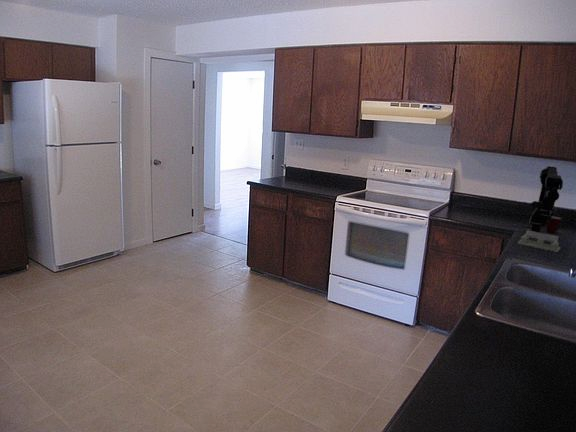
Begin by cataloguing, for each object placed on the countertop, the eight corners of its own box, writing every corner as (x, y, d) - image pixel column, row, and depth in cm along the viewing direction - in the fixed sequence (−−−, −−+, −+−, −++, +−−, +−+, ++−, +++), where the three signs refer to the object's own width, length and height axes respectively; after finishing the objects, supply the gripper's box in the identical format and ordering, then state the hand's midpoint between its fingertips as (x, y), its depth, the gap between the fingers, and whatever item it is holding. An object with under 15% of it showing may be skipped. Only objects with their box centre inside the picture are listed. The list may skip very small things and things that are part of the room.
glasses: (526, 234, 269) (528, 229, 268) (557, 241, 260) (559, 236, 259) (523, 237, 262) (524, 232, 262) (555, 244, 253) (556, 239, 252)
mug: (541, 229, 306) (544, 214, 304) (554, 231, 304) (558, 216, 302) (546, 233, 296) (549, 217, 294) (559, 235, 294) (563, 219, 292)
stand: (522, 240, 272) (523, 233, 271) (560, 248, 260) (562, 242, 259) (517, 243, 264) (519, 236, 263) (557, 252, 252) (558, 245, 251)
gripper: (537, 193, 270) (531, 219, 274) (530, 197, 255) (524, 224, 259) (558, 197, 263) (552, 223, 267) (552, 201, 249) (546, 229, 253)
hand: (543, 225), depth 262 cm, fingers open, 9 cm apart
